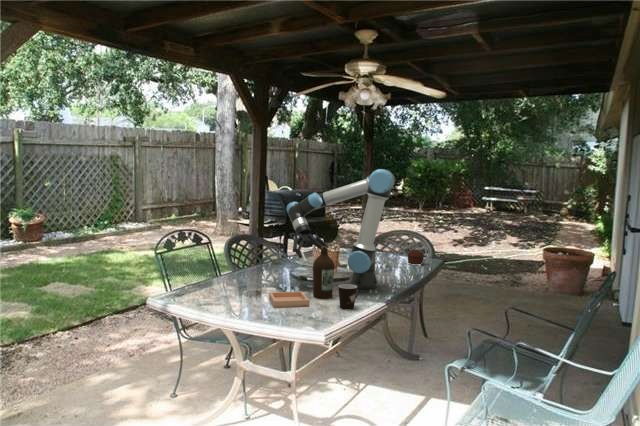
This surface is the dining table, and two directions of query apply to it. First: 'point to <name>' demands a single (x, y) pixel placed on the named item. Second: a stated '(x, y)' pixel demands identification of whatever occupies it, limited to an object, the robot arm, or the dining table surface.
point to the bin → (288, 299)
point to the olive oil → (323, 275)
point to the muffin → (415, 257)
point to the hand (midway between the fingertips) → (316, 261)
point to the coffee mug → (347, 295)
